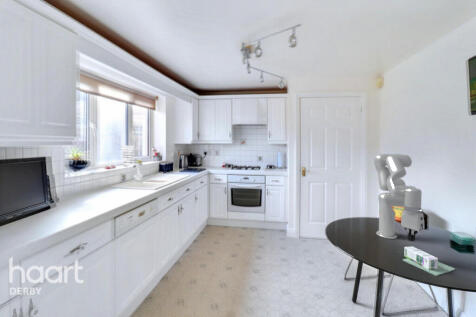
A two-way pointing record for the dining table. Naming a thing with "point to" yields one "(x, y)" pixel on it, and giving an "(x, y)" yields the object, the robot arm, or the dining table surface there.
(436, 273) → the mat
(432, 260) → the syrup box
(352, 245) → the dining table surface
